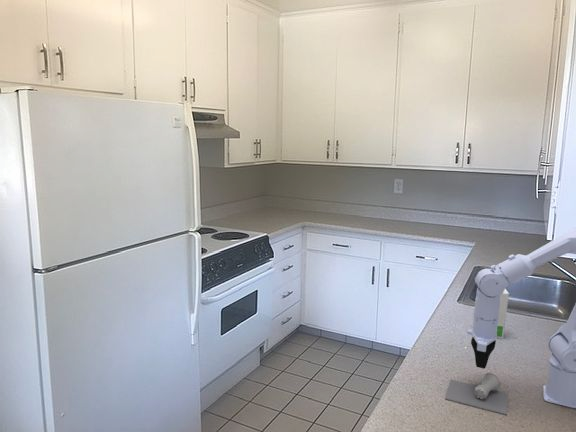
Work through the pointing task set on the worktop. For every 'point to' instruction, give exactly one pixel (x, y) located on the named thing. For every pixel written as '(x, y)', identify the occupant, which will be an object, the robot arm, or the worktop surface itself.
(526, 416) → the worktop surface
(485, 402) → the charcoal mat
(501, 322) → the skincare box
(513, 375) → the worktop surface
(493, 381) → the rook chess piece
